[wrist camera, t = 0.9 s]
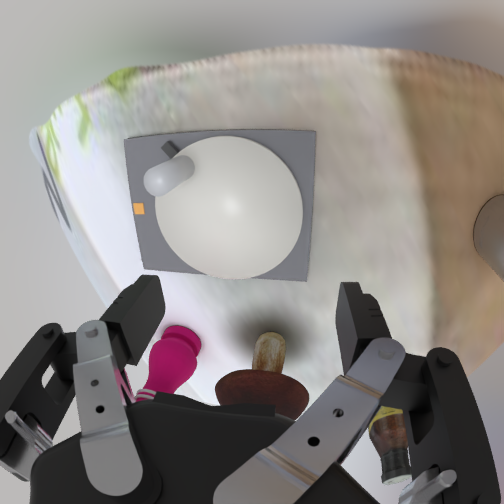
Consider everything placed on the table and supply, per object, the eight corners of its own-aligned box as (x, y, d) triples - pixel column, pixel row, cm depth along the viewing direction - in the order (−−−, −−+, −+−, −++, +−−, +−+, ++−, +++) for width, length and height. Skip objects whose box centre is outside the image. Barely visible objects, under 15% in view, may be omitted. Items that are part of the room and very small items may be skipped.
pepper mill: (208, 332, 42) (161, 449, 24) (200, 360, 45) (160, 465, 28) (163, 316, 42) (102, 423, 24) (160, 345, 45) (110, 443, 28)
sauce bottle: (353, 373, 42) (360, 486, 24) (381, 352, 39) (401, 470, 22) (377, 386, 43) (389, 488, 25) (405, 366, 40) (427, 473, 22)
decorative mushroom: (282, 370, 43) (272, 453, 30) (221, 340, 42) (193, 424, 29) (326, 329, 38) (329, 423, 25) (258, 293, 37) (234, 387, 24)
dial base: (314, 131, 27) (315, 131, 26) (306, 276, 35) (306, 282, 34) (129, 138, 30) (123, 139, 29) (147, 264, 38) (143, 269, 37)
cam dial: (332, 223, 30) (340, 255, 23) (224, 295, 36) (209, 334, 30) (221, 91, 25) (196, 85, 19) (125, 190, 32) (89, 211, 25)
